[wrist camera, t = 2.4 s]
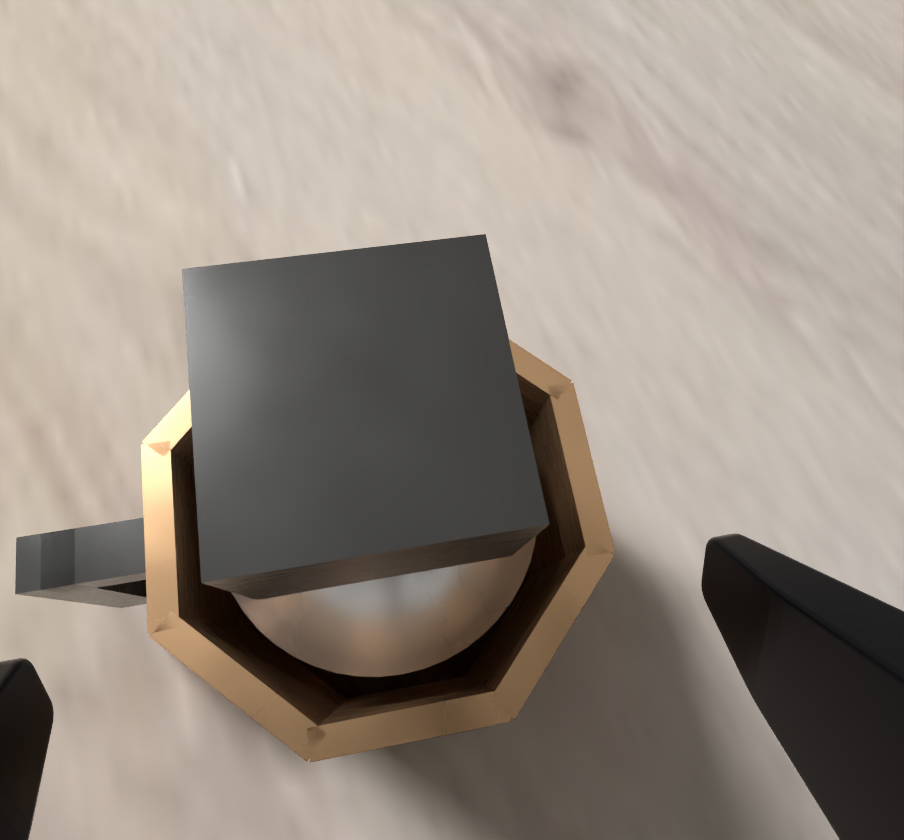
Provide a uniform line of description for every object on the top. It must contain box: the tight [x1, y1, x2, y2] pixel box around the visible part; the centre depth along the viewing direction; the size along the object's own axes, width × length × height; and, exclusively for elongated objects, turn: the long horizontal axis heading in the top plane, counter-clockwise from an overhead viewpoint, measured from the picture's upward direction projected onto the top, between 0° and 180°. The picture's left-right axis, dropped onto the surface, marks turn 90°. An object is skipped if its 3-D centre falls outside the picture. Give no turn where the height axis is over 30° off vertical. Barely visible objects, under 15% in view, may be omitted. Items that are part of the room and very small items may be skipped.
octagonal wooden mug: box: [15, 340, 615, 762], centre depth 18 cm, size 10×13×8 cm
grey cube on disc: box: [182, 234, 549, 677], centre depth 12 cm, size 7×7×8 cm
